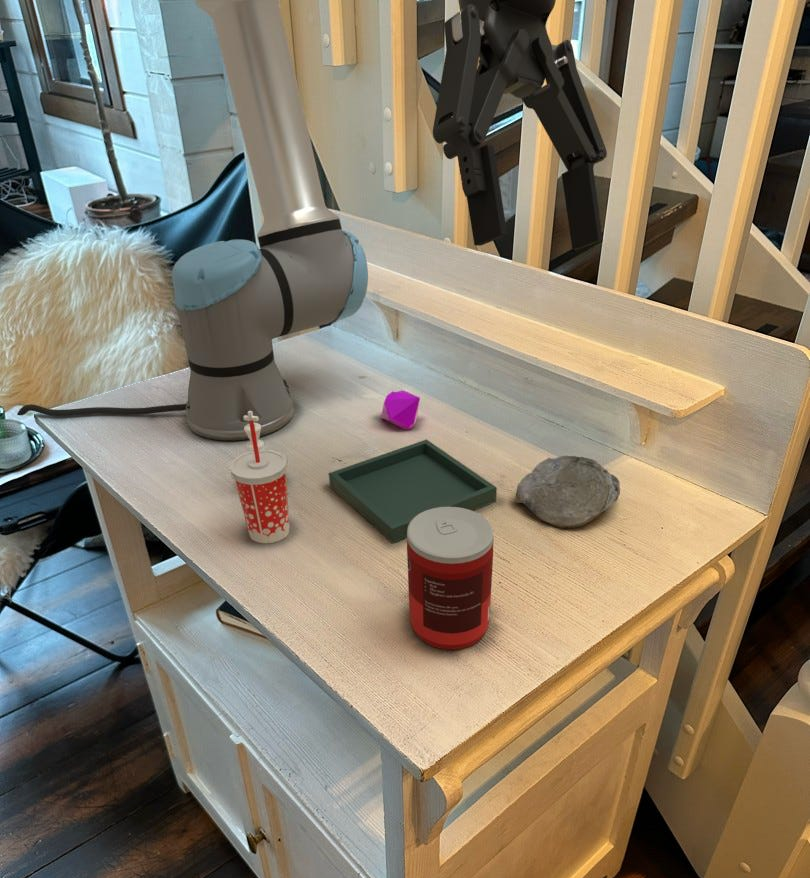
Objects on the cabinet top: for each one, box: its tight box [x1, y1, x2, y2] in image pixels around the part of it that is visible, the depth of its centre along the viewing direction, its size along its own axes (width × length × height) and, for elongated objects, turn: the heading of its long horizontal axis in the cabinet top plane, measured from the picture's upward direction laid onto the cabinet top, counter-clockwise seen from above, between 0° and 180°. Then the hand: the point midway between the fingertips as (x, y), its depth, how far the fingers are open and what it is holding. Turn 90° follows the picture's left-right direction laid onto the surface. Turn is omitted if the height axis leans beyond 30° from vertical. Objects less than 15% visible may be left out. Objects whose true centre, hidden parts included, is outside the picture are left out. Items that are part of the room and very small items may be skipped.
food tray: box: [328, 439, 498, 544], centre depth 91 cm, size 15×15×2 cm
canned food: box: [406, 507, 495, 650], centre depth 70 cm, size 8×8×11 cm
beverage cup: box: [228, 420, 291, 544], centre depth 82 cm, size 6×6×14 cm
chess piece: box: [244, 411, 265, 451], centre depth 92 cm, size 5×5×10 cm
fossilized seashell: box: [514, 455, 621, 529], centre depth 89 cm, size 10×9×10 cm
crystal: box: [380, 390, 421, 431], centre depth 106 cm, size 5×5×5 cm
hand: (542, 243), depth 63 cm, fingers open, 13 cm apart
